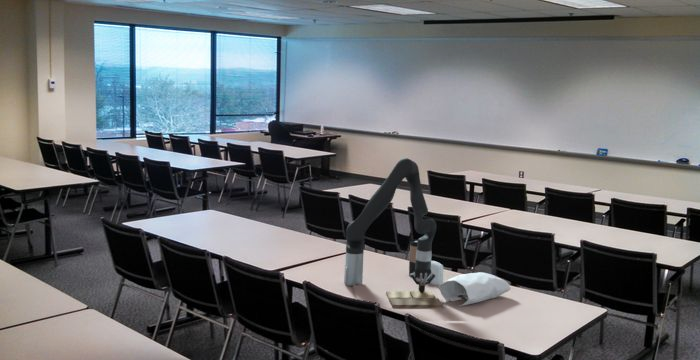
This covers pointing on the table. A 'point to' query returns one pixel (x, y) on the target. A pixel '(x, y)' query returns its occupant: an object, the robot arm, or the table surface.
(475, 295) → the bag
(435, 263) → the photo printer
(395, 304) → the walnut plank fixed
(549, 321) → the table surface
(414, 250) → the travel mug
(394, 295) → the oak plank left
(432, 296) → the oak plank right
